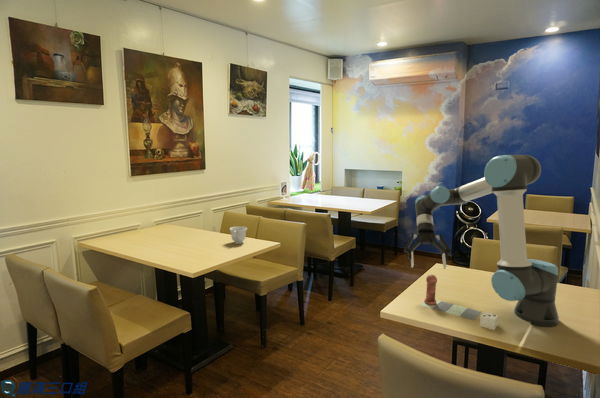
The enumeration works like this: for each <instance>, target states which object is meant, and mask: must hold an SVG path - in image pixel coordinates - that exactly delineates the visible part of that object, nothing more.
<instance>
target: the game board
mask: <svg viewBox="0 0 600 398" xmlns="http://www.w3.org/2000/svg"><path fill="white" fill-rule="evenodd" d="M435 300H436V305H427V304H425V303H424V301H422V303H420V304H419V306H421V307H425V308H428V309H432V310H436V311H438V312H442V313H446V314H450V315H453V316H458V317H460V318H464V319H467V320H472V321H475V320H476V319H477V318H478V317H479V316H480V315H481V314H482V311H480V310H477V309H474V308H473V309H472V308H468V307H466V306H461V305H458V304H453V303H450V302H445V301H443V300H439V299H435Z"/></svg>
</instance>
